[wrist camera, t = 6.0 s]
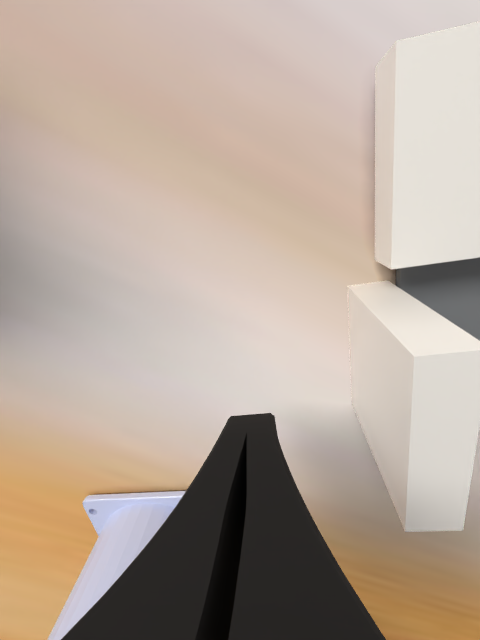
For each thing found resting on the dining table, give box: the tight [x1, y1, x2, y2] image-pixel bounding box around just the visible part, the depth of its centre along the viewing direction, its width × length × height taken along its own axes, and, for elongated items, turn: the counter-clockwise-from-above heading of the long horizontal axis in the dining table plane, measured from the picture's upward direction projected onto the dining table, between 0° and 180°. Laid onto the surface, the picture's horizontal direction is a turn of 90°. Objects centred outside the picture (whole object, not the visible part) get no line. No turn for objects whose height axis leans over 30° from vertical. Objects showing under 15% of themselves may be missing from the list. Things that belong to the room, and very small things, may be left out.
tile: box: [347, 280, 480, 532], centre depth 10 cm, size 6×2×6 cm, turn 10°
